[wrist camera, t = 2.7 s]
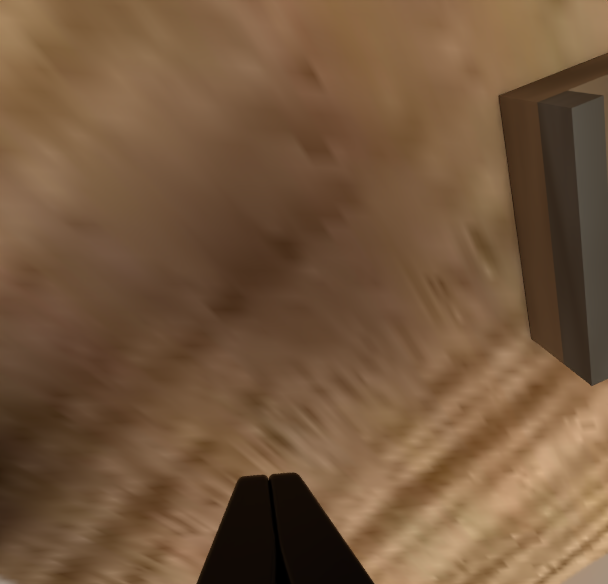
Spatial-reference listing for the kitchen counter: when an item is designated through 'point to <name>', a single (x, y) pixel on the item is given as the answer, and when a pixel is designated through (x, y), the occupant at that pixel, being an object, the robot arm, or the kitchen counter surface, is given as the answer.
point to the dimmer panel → (563, 210)
